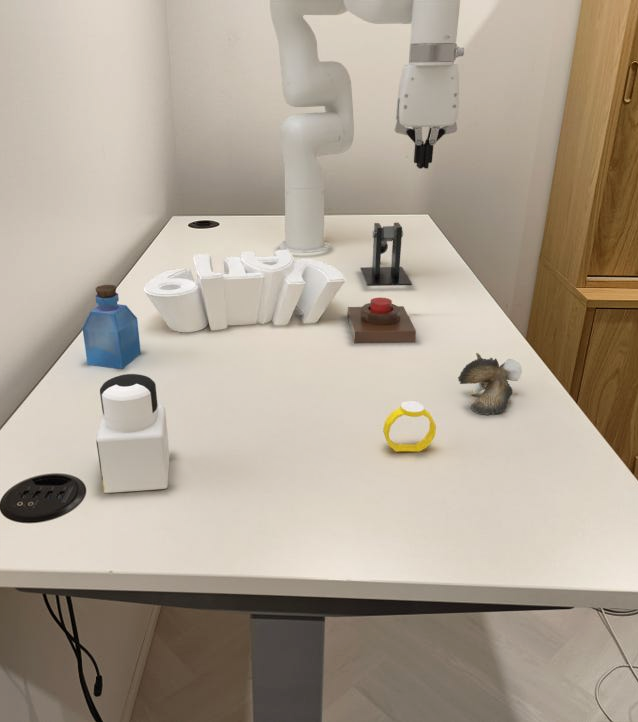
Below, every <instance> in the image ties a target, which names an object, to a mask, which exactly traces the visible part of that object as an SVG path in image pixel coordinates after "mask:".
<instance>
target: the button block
mask: <svg viewBox="0 0 638 722" xmlns="http://www.w3.org/2000/svg"><path fill="white" fill-rule="evenodd" d="M347 321H348V326H349V329H350V333H351V335H352V340H353V343H354V344H413V343H414V344H415V343H416V335H417V330H416V328H415V327H414V326H415V325H414V324H413V322H412V321H411V318H410V316H409V315H408V312H407V311H406V309H405V306H403V305H396V304H394V303H392V309H391V312H387V313H377V312H373V311H370V302H368V303H365V304H364V305H362V306H348V307H347Z"/></svg>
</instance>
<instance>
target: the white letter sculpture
mask: <svg viewBox="0 0 638 722" xmlns="http://www.w3.org/2000/svg"><path fill="white" fill-rule="evenodd" d="M272 254H273V255H272V256H256V252H254V251H243V252H241V254H240V257H238V256H230V257H229V256H228V257H225V258H223V259H222V260H223V261H222V262H223V273H222V272H214V268H213V262H212V254H210V253H197V254H194V255H193V256H192V259H193V263H194V269H195V272H196V281H195V279H194V276H193V274H192V269H187V268H177V269H169V270H166V271H164V272H161V273H159V274H157V275H155V276H154V277H152V278H151V279H149V280H148V281H147V283H146V284H145V285H144V287H143V292H144V293H145V294H146V296H147V297H148V299H149V300H150V302H151V303H152V305H153V306H154V308H155V309H156V311H157V312H158V313H159V315H160V317H161V318H162V319H163V321H164V322H165V323H166V325H167V326H168V328H169V329H170V330H172V331H174V332H178V333H194V332H199V331H201V330H203V329H205V328H207V327H208V326H209V330H210V331H211V332H212V331H221V330H226V329H228V326H247V325H256V324H261V325H265V324H268V323H269V322H271V321H272V323H273V325H274V326H287V325H289V323H290V321H291V318H292V316H293V313H294V312H295V309H296V307H297V308H298V309H300V310H301V312H302V313H303V314H300V317H301V319H302V324H317V322H318V321H319V320H320V318H322V317H321V316H322V315H323V314H324V313H325V311H326V309H328V307H329V305H330V304H331V302H332V301H333V299H334V298H335V297H336V295H337V293H338V292H339V291H340V290H341V288H342V286H343V285H344V283H345V282H346V277H345V275H344V274H343V273H342V272H341V270H339V269H338V268H336V267H334V266H333V265H330V264H328V263H325V262H324V261H323V262H322V261H320V260H315V259H312V258H307V257H303V258H301V259H298V260H296V261H295V259H294V255H293V252H290V251H288V250H279V249H276V250H275V251H273V253H272Z"/></svg>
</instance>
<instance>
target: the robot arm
mask: <svg viewBox="0 0 638 722" xmlns="http://www.w3.org/2000/svg"><path fill="white" fill-rule="evenodd" d="M460 7H461V0H269V12H270V18H271V21H272V25H273V29H274V32H275V35H276V39H277V43H278V50H279V63H280V75H281V85H282V93H283V98H284V101H285V103H286V104H287V105H288V106H291V107H294V108H313V107H314V108H316V107H323V108H324V111H325V112H323V111H322V112H306V113H303V112H302V113H297V114H293V115H290V116H289V117H287V118H286V119H285V120H284V121H283V122H282V124H281V126H280V130H279V140H280V146H281V152H282V159H283V170H284V241H282V242H280V243H279V244H278V250H288V251H290V252H291V253H294V254H315V253H319V252H324V251H327V250H329V249H330V248H331V244H330V243H329V242H328V241H326V240H325V204H326V203H325V202H326V201H325V199H326V198H325V195H326V177H325V172H324V169H323V168H322V166H321V164H320V163H319V161H318V159H317V157H322V156H331V155H338V154H344V153H345V152H347V151H348V150H349V149H350V148H351V147H352V145H353V141H354V137H355V136H354V135H355V124H354V123H355V121H354V108H353V107H354V105H353V104H354V103H353V88H352V80H351V76H350V74H349V71H348V69H347V67H346V66H345V65H344V64H342V63H340V62H339V61H334V60H333V61H332V60H330V61H329V60H328V61H327V60H326V61H321V60H320V59H319V53H318V41H317V37H316V35H315V32H314V31H313V29H312V27H311V26H310V24H309V23H308V22H307V21H306V19H305V18H304V17H305V16H338V15H339V16H340V15H343V14H345V13H347V12H349V13H351V14H352V15H354V16H355V17H357V18H359V19H361V20H362V21H364V22H367V23H371V24H376V25H386V24H387V25H391V24H392V25H397V24H401V25H410V41H409V53H408V64H403V67H402V70H401V75H400V79H399V86H398V92H397V101H396V110H395V119H396V123H395V126H394V132H395V133H396V134H398V135H399V134H400V135H403V136H407V137H408V138H409V139H410V140H411V141H412V142H413V143H414V151H413V153H414V154H413V163H414V164H416V167H417V169H423V168H424V169H425V170H426V169H429V165H430V164H432V163H433V157H434V156H433V155H434V146H435V145H436V143H437V142H438V141H439V140H440V139H442V138H443V136H445V135H446V136H447V135H450V134H455V133H456V132H457V131H458V128H457V127H458V125H457V120H458V116H459V115H458V114H459V106H460V105H459V104H460V75H459V65H458V64H457V63H455V62H456V60H457V58H459V57H464V55H465V48H464V47H460V46H458V44H457V38H458V37H457V36H458V27H459V17H460ZM423 128H428V131H427V135H426V139H425V141H424V140H423Z"/></svg>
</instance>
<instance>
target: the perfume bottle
mask: <svg viewBox="0 0 638 722" xmlns="http://www.w3.org/2000/svg"><path fill="white" fill-rule="evenodd" d="M95 292H96V295H95V303H96V304H97V307H95V308H93V309H92V310H90V311H89V313H88V315H87V318H86V320H85V322H84V324H83V326H82V328H81V329H82V334H83V341H84V349H85V356H86V363H87V365H89V366H96V367H97V366H98V367H103V368H111V369H119V370H123V369H124V368H125V367H126V366H128V365H129V364H130V363H131V362H132V361H134V360H135V359H136V358H138V357H139V356H140V355H141V354H142V352H141V351H142V350H141V342H140V332H139V323H138V317H137V316H136V315H135V314H134V313H133V312H132V310H131V309H130V308H129V307H128V306H127V304H118V302H119V300H120V298H119V293H118V292H117V286H116V284H115V285H114V284H102V285H98V286H96V287H95Z"/></svg>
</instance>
